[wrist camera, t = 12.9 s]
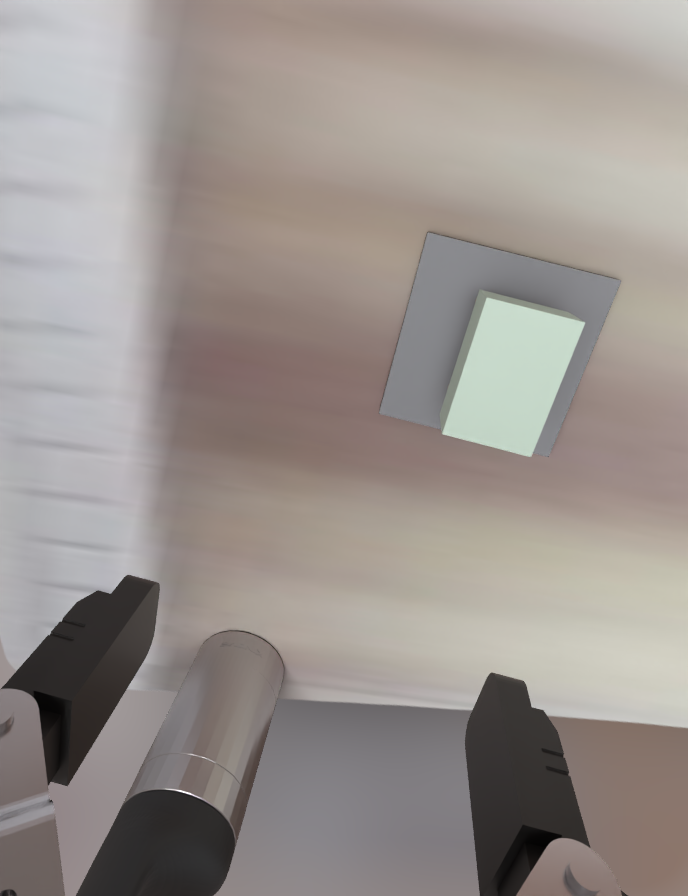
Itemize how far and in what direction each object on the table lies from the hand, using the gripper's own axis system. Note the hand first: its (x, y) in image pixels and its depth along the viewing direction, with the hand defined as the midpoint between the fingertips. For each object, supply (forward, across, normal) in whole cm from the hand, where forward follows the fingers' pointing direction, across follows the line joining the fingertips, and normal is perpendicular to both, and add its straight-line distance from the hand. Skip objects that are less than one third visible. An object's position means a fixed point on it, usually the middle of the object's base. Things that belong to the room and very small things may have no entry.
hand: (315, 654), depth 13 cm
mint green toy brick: (+33, -8, -2) cm, 34 cm away
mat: (+34, -8, -2) cm, 35 cm away
